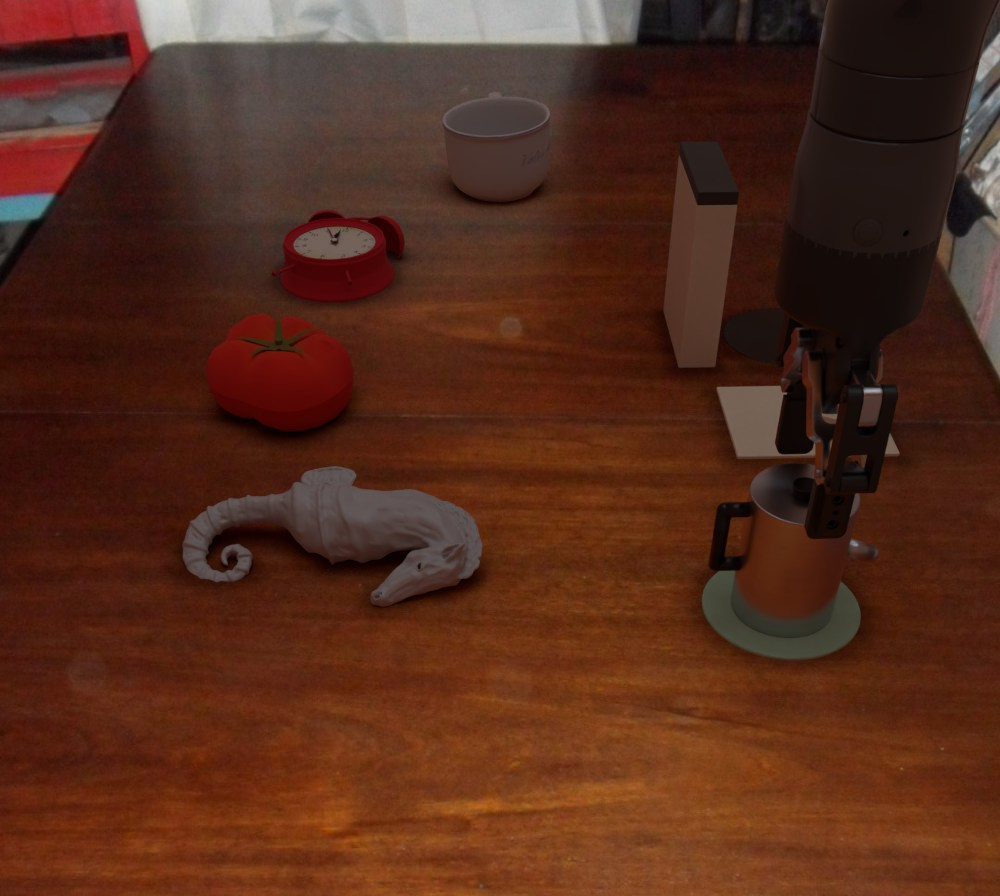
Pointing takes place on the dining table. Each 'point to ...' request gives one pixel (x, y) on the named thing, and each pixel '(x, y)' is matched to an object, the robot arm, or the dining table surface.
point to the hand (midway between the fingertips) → (807, 491)
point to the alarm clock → (340, 257)
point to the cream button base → (763, 422)
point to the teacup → (498, 146)
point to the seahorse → (349, 532)
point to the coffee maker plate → (755, 333)
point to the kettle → (783, 555)
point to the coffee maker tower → (699, 252)
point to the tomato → (281, 373)
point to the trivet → (774, 647)
